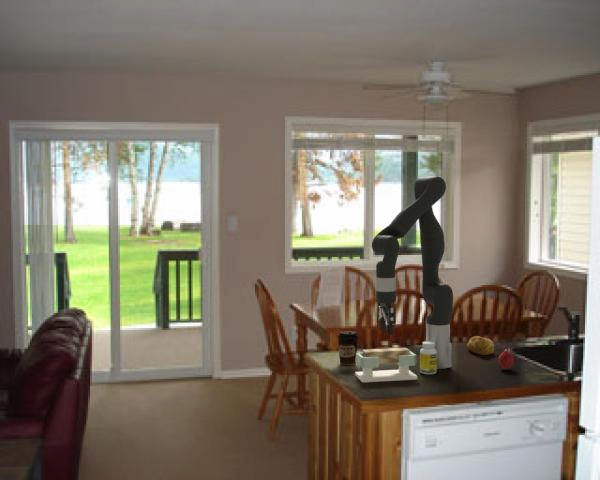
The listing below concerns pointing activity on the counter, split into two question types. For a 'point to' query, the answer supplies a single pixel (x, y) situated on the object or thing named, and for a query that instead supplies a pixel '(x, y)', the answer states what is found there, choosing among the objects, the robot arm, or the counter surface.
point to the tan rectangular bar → (386, 354)
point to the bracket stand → (385, 375)
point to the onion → (506, 360)
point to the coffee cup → (347, 347)
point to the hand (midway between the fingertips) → (386, 332)
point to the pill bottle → (428, 358)
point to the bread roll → (480, 345)
